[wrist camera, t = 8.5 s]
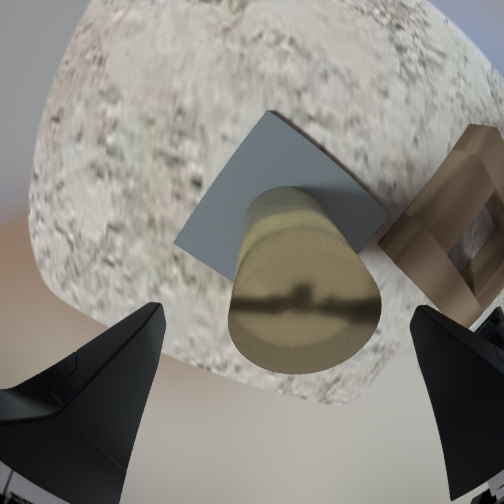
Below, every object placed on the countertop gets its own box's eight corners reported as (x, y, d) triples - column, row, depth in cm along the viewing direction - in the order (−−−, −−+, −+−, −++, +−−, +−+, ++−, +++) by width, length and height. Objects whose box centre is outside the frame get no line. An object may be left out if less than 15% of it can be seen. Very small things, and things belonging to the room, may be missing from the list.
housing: (518, 223, 16) (538, 235, 13) (446, 315, 20) (461, 335, 17) (469, 123, 13) (496, 127, 10) (377, 243, 17) (395, 264, 15)
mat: (387, 213, 16) (390, 215, 16) (292, 314, 20) (293, 318, 19) (267, 110, 14) (267, 109, 14) (175, 239, 18) (173, 242, 17)
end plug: (341, 219, 16) (407, 306, 8) (290, 277, 18) (309, 388, 10) (277, 169, 15) (299, 216, 7) (227, 234, 17) (199, 335, 9)
